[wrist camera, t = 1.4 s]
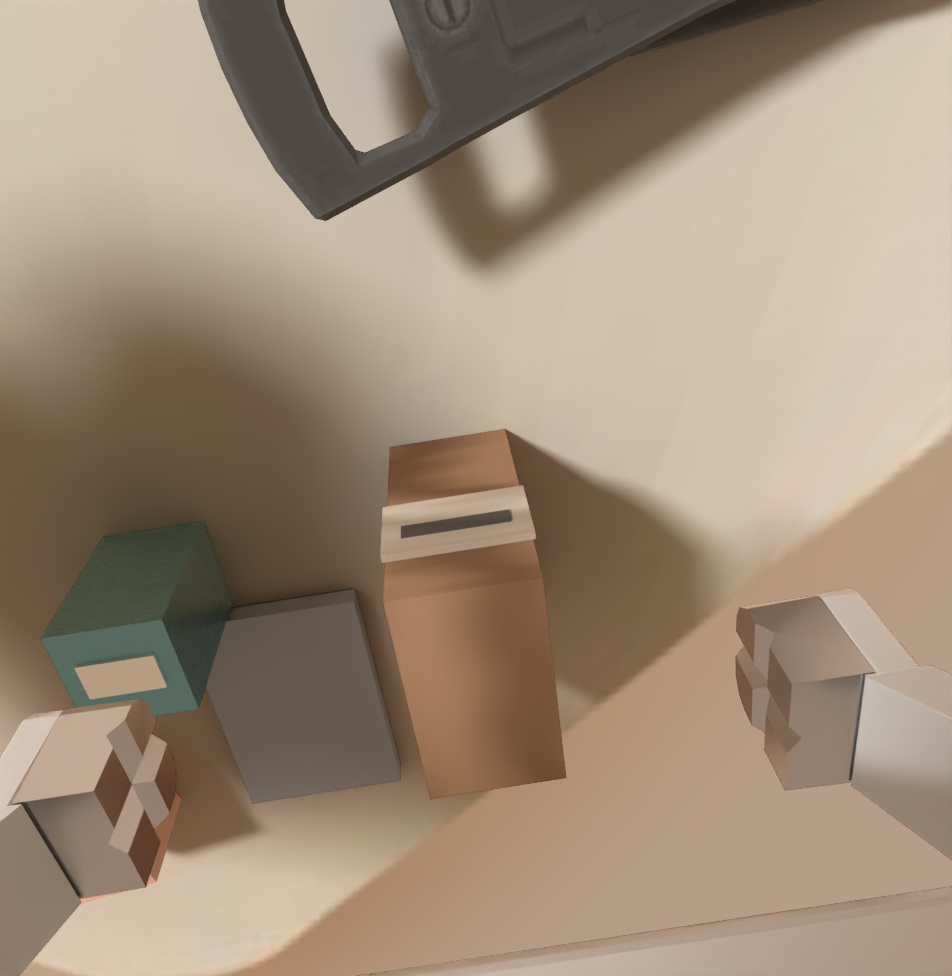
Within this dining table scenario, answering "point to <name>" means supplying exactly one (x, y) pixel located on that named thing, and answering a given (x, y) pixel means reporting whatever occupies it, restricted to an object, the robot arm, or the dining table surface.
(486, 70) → the zipper pull
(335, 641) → the felt pad
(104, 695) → the block
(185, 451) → the dining table surface
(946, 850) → the robot arm
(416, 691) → the block
